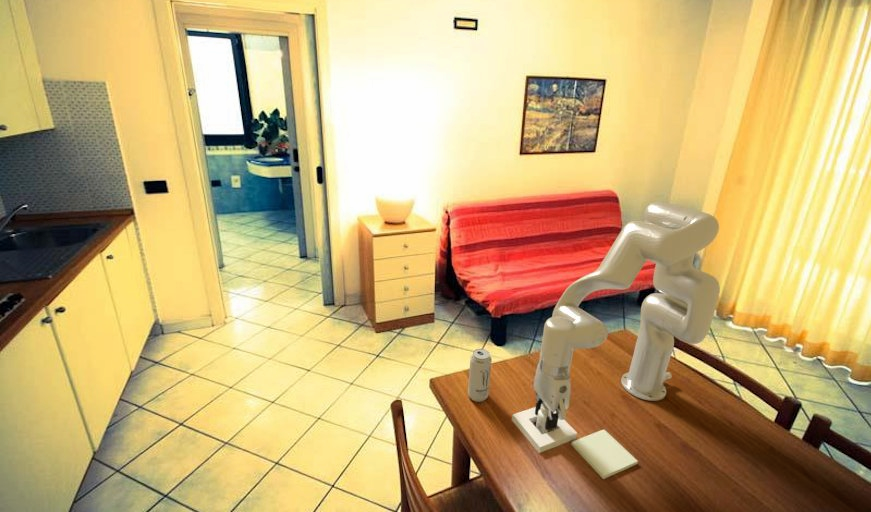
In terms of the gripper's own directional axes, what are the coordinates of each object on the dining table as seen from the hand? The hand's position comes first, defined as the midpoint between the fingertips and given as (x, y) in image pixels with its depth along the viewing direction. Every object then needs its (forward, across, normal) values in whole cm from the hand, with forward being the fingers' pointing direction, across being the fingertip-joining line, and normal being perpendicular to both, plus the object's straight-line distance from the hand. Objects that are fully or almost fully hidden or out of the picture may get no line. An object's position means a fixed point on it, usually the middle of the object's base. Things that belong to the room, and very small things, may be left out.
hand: (545, 420), depth 108 cm
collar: (+3, 0, 0) cm, 3 cm away
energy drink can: (+3, +16, +12) cm, 21 cm away
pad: (+3, -11, -10) cm, 16 cm away
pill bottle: (+3, 0, 0) cm, 3 cm away
